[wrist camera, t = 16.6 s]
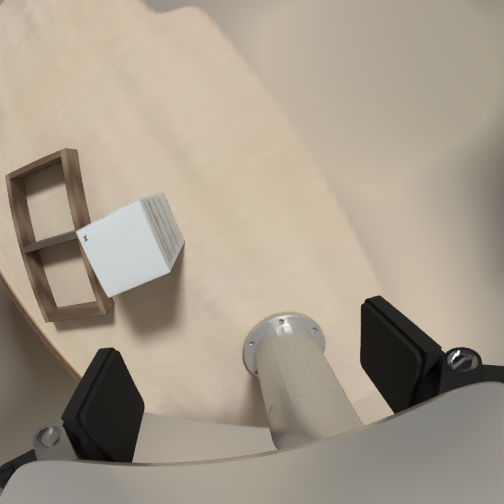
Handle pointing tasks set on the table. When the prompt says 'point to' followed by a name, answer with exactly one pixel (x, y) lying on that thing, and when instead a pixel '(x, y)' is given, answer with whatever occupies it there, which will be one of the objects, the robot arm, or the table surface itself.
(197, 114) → the table surface
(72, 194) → the frame
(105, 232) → the supplement box
